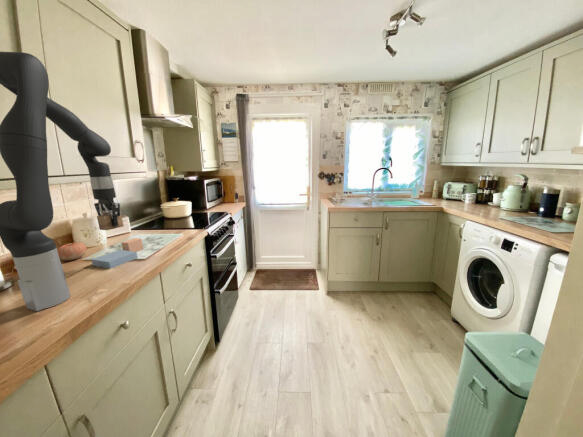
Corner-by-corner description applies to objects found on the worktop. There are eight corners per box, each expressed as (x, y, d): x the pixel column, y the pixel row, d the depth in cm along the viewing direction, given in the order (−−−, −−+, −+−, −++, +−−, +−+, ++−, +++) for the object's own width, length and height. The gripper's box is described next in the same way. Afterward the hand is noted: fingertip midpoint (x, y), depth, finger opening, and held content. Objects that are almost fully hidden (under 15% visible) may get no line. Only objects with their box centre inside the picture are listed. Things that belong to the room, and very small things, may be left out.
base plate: (110, 268, 98) (109, 262, 97) (92, 265, 102) (91, 259, 102) (137, 257, 109) (136, 251, 108) (120, 255, 113) (119, 249, 113)
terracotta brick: (130, 254, 114) (127, 243, 113) (123, 253, 116) (121, 242, 115) (143, 249, 121) (141, 238, 119) (136, 248, 122) (134, 238, 121)
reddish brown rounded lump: (52, 262, 109) (48, 246, 107) (79, 253, 119) (75, 239, 117) (68, 264, 105) (63, 247, 104) (93, 255, 116) (89, 240, 114)
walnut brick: (106, 230, 98) (103, 216, 97) (99, 229, 100) (96, 216, 99) (123, 226, 105) (121, 213, 103) (116, 225, 107) (114, 213, 105)
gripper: (82, 188, 98) (91, 227, 101) (103, 188, 93) (112, 229, 96) (102, 187, 105) (110, 223, 108) (123, 186, 99) (130, 224, 103)
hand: (111, 225), depth 102 cm, fingers closed on walnut brick, 5 cm apart
